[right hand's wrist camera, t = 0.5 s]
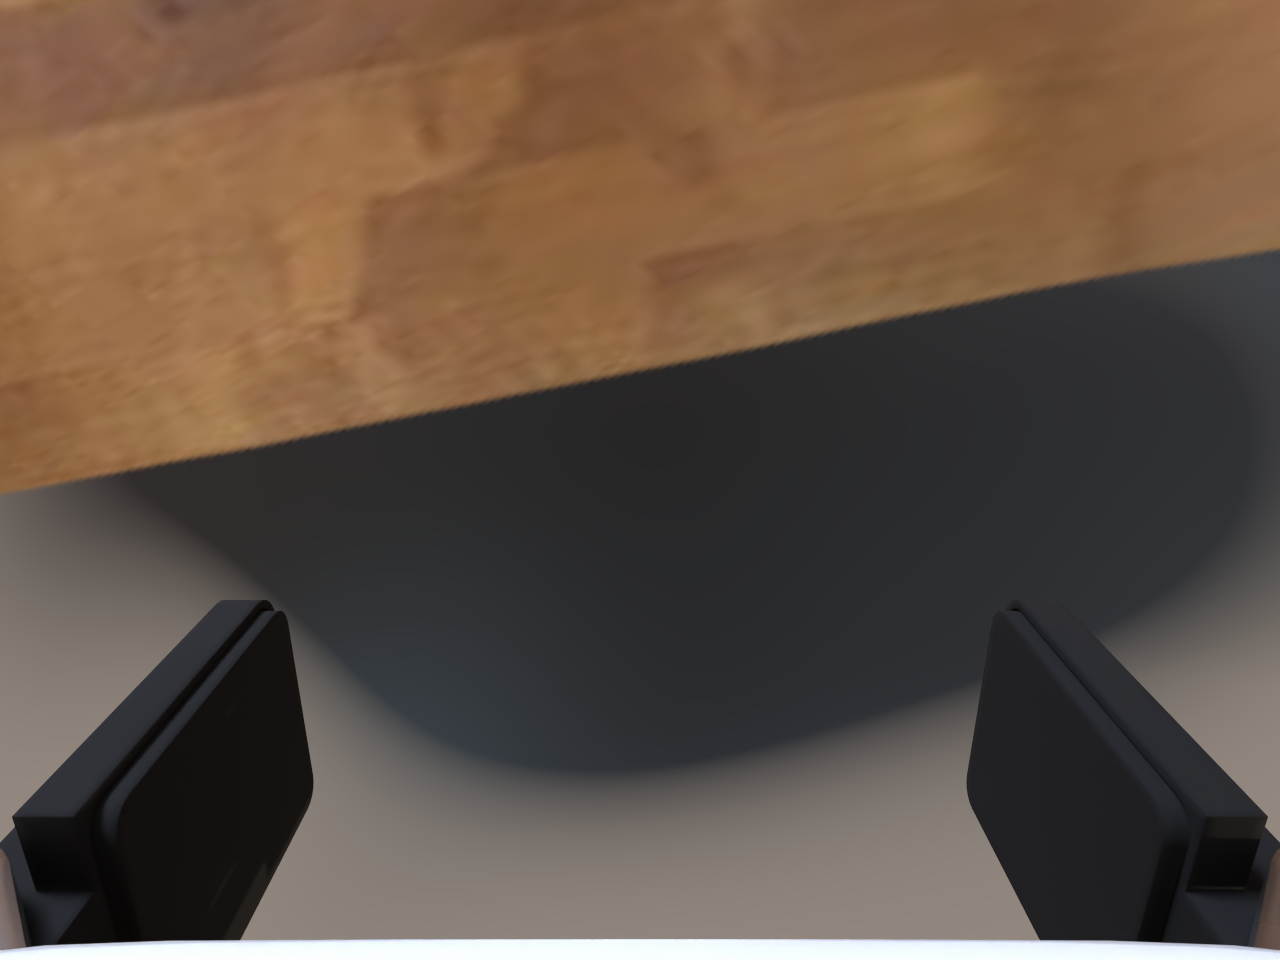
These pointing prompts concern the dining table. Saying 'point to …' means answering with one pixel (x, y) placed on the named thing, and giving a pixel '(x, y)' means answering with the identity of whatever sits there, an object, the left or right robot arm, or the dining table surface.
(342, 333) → the dining table surface
